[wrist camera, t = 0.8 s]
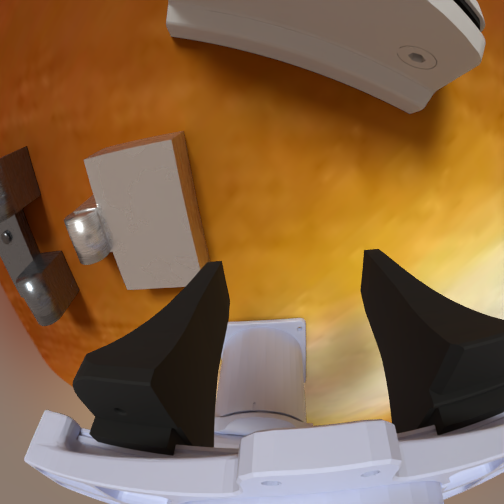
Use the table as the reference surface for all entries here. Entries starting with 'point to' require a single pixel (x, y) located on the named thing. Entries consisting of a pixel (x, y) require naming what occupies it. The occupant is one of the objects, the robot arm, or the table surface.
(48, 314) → the fixed leaf
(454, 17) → the grey rounded slab
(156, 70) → the table surface
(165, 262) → the grey boxy piece
